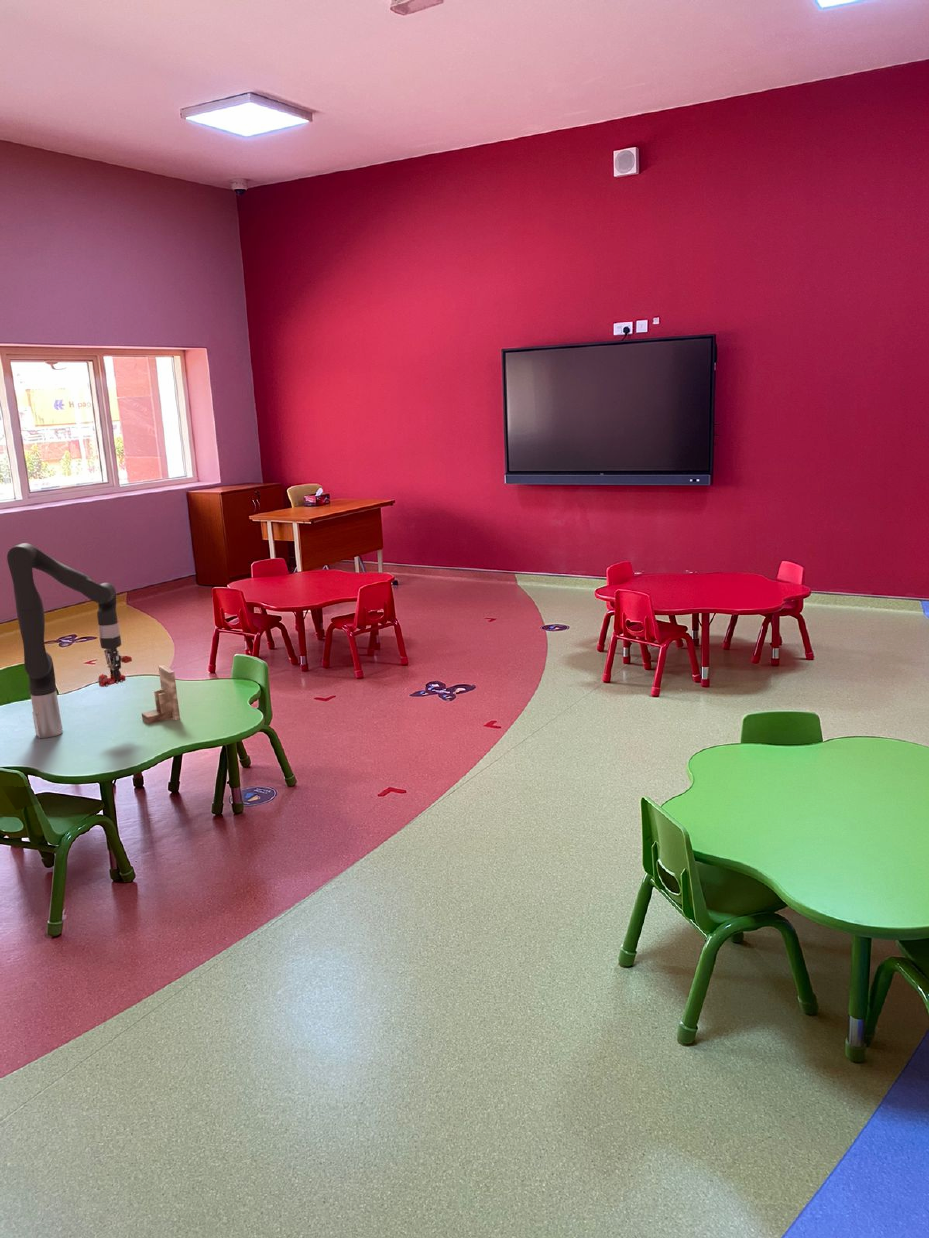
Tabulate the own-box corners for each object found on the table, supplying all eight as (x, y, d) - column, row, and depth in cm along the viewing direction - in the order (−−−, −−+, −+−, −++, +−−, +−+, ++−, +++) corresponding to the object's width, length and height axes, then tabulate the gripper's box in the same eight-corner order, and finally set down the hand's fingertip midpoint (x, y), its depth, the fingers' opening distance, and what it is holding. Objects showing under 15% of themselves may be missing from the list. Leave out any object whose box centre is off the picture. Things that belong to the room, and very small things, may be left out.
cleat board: (150, 726, 364) (144, 678, 359) (140, 717, 374) (133, 671, 369) (180, 719, 370) (174, 671, 366) (169, 710, 381) (163, 664, 376)
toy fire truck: (98, 686, 355) (94, 663, 353) (130, 677, 365) (127, 654, 363) (102, 688, 353) (98, 664, 351) (134, 679, 363) (131, 655, 361)
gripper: (94, 633, 358) (100, 675, 362) (105, 640, 347) (111, 683, 351) (114, 629, 362) (119, 671, 366) (125, 636, 351) (130, 679, 355)
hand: (115, 677), depth 358 cm, fingers closed on toy fire truck, 3 cm apart
